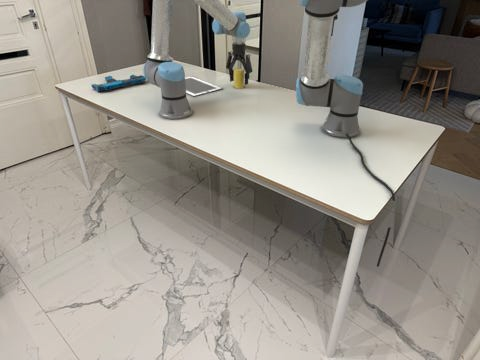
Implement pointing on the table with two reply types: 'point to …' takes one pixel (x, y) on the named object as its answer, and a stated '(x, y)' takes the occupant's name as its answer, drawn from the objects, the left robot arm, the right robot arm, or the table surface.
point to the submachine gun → (118, 82)
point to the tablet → (198, 86)
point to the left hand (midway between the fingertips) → (239, 82)
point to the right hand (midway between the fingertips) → (323, 33)
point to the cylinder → (238, 78)
